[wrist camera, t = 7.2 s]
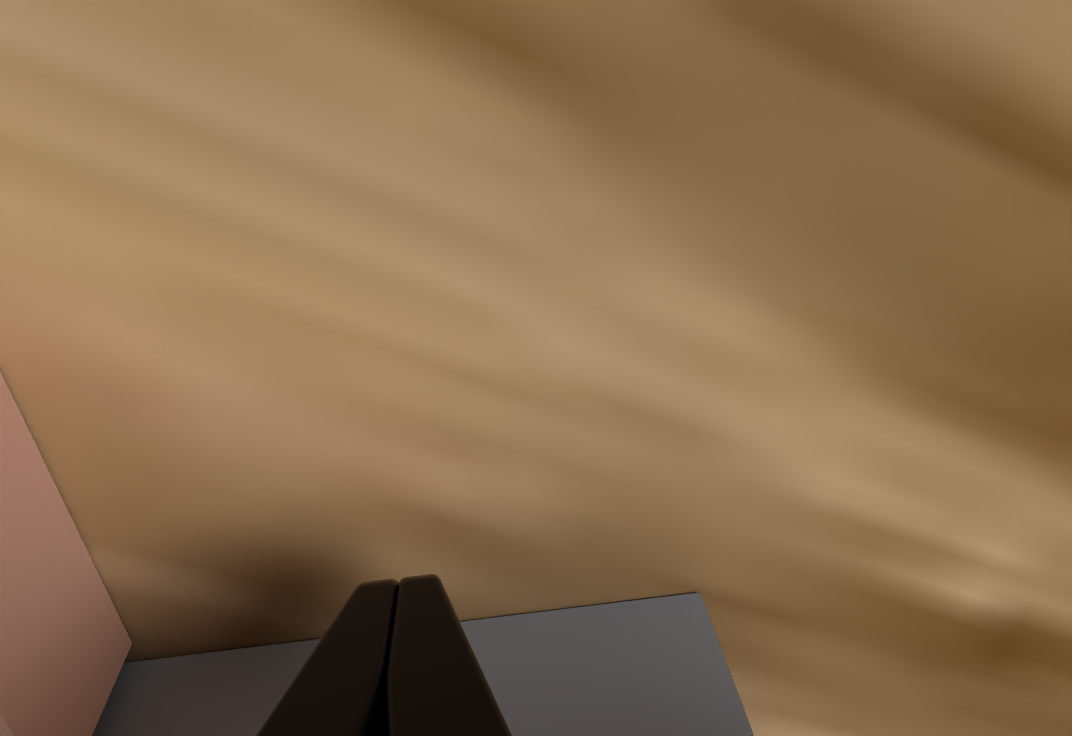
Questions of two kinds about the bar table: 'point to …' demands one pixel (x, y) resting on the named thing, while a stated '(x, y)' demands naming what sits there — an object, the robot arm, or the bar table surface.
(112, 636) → the pink block
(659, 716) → the grey flat block
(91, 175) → the bar table surface
